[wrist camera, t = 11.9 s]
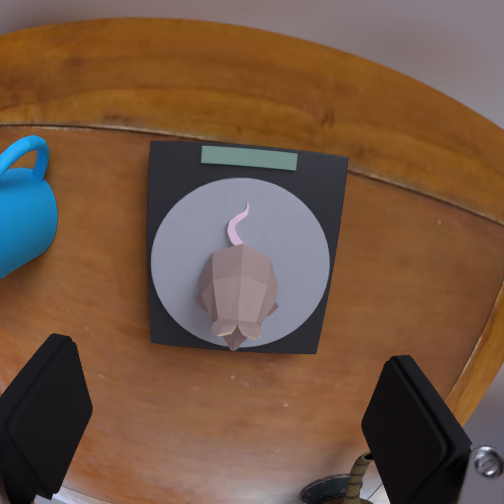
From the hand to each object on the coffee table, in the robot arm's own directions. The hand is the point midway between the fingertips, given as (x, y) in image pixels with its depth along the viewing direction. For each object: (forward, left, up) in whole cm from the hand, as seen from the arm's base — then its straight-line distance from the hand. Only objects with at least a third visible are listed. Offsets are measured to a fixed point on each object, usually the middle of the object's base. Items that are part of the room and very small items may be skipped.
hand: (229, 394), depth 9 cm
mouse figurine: (0, 0, -13) cm, 13 cm away
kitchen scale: (0, 0, -16) cm, 16 cm away
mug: (-3, -18, -16) cm, 24 cm away
